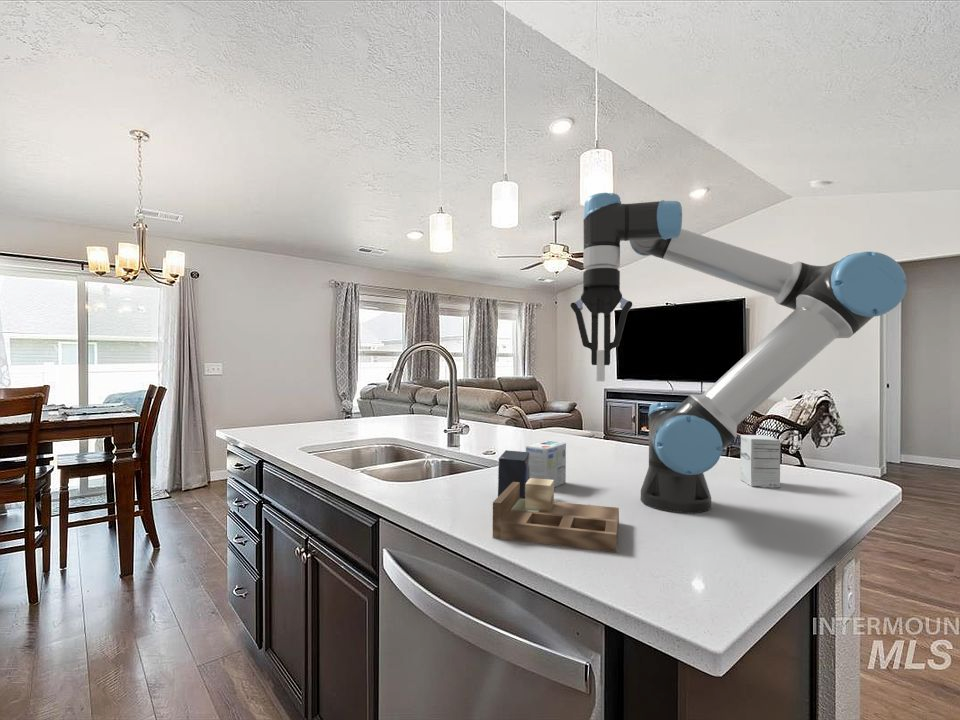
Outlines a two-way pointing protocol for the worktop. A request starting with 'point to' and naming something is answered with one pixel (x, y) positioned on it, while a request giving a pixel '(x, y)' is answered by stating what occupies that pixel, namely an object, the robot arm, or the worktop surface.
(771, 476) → the supplement box
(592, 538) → the tray
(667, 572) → the worktop surface
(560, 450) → the light bulb box
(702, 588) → the worktop surface
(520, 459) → the small box
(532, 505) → the maple block
